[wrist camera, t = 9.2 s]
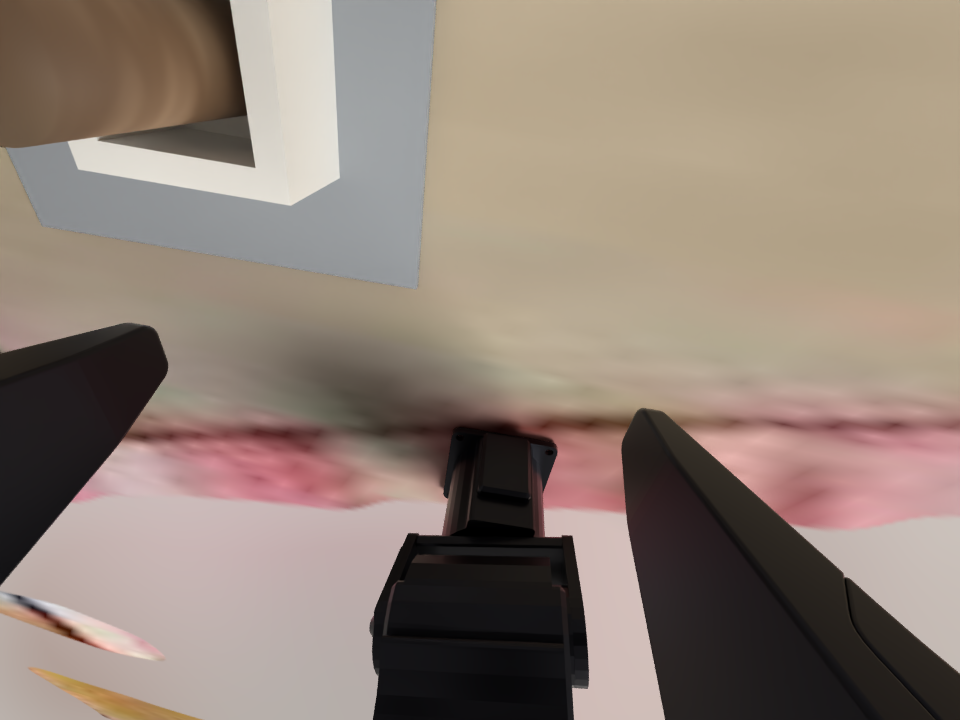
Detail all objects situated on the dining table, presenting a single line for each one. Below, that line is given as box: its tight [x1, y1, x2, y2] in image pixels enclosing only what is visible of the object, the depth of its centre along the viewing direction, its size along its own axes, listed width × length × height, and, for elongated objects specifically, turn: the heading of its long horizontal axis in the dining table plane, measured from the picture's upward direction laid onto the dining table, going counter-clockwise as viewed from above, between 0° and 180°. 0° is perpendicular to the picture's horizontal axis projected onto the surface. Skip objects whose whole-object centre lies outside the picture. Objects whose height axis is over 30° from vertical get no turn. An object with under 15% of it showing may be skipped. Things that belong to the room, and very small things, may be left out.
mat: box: [6, 0, 436, 289], centre depth 17 cm, size 12×18×1 cm, turn 82°
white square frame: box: [68, 0, 340, 206], centre depth 13 cm, size 7×7×4 cm
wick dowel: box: [0, 0, 247, 148], centre depth 11 cm, size 3×3×9 cm
